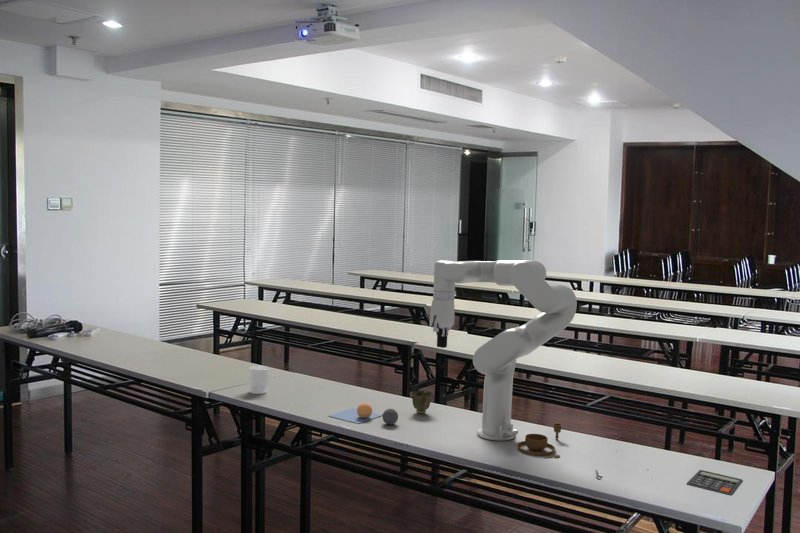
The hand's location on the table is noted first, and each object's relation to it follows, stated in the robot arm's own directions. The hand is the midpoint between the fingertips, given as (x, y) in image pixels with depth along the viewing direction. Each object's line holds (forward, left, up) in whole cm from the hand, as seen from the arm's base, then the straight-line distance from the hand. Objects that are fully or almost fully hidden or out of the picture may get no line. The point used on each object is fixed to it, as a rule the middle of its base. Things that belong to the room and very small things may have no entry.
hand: (441, 347), depth 245 cm
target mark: (+22, +21, -27) cm, 41 cm away
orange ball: (+18, +20, -24) cm, 36 cm away
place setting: (-40, -10, -28) cm, 50 cm away
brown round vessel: (+12, -2, -27) cm, 30 cm away
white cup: (+71, +34, -27) cm, 83 cm away
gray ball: (+7, +17, -24) cm, 30 cm away
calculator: (-87, -27, -28) cm, 95 cm away
